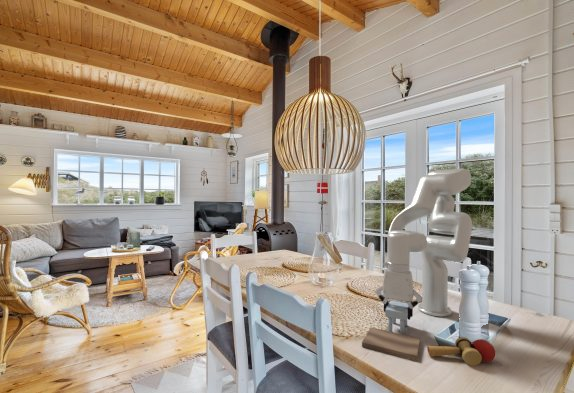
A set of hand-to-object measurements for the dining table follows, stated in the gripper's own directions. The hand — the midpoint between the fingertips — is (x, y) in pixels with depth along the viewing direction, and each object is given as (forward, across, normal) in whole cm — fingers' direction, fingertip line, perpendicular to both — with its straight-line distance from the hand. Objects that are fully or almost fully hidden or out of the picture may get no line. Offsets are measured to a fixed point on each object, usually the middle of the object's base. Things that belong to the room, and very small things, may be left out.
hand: (397, 315), depth 105 cm
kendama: (+5, +19, -11) cm, 23 cm away
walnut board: (+5, 0, -13) cm, 14 cm away
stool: (+5, 0, 0) cm, 5 cm away
